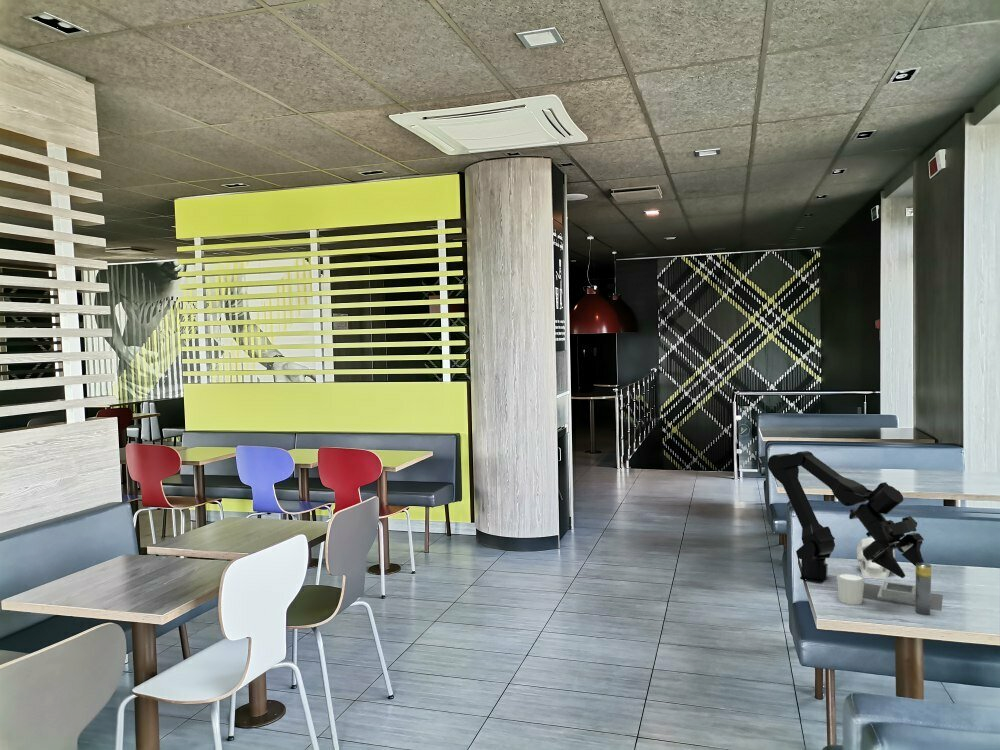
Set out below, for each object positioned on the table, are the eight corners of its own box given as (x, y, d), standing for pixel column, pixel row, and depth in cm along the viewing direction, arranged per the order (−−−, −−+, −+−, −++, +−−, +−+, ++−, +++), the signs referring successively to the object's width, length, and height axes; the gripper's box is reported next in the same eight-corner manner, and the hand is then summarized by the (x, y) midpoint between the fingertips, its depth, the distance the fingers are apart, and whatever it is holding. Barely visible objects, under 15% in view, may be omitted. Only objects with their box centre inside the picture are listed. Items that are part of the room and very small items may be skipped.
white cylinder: (837, 605, 195) (837, 579, 195) (835, 596, 202) (835, 571, 201) (866, 608, 193) (866, 581, 192) (862, 599, 199) (863, 574, 199)
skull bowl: (853, 574, 217) (855, 534, 222) (856, 587, 227) (858, 549, 232) (893, 579, 211) (894, 538, 217) (895, 592, 222) (895, 553, 227)
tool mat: (848, 597, 201) (848, 595, 201) (854, 583, 213) (854, 581, 213) (941, 612, 189) (941, 610, 189) (942, 596, 201) (942, 594, 201)
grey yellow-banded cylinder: (914, 614, 187) (915, 565, 187) (915, 610, 190) (916, 561, 190) (930, 617, 186) (931, 567, 185) (930, 613, 188) (931, 563, 188)
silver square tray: (877, 599, 198) (877, 589, 198) (880, 588, 206) (880, 579, 206) (919, 605, 193) (919, 596, 193) (921, 594, 201) (921, 585, 201)
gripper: (873, 511, 189) (914, 563, 180) (916, 503, 198) (958, 552, 189) (846, 534, 196) (884, 586, 187) (889, 525, 205) (928, 574, 196)
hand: (914, 574), depth 190 cm, fingers open, 9 cm apart
